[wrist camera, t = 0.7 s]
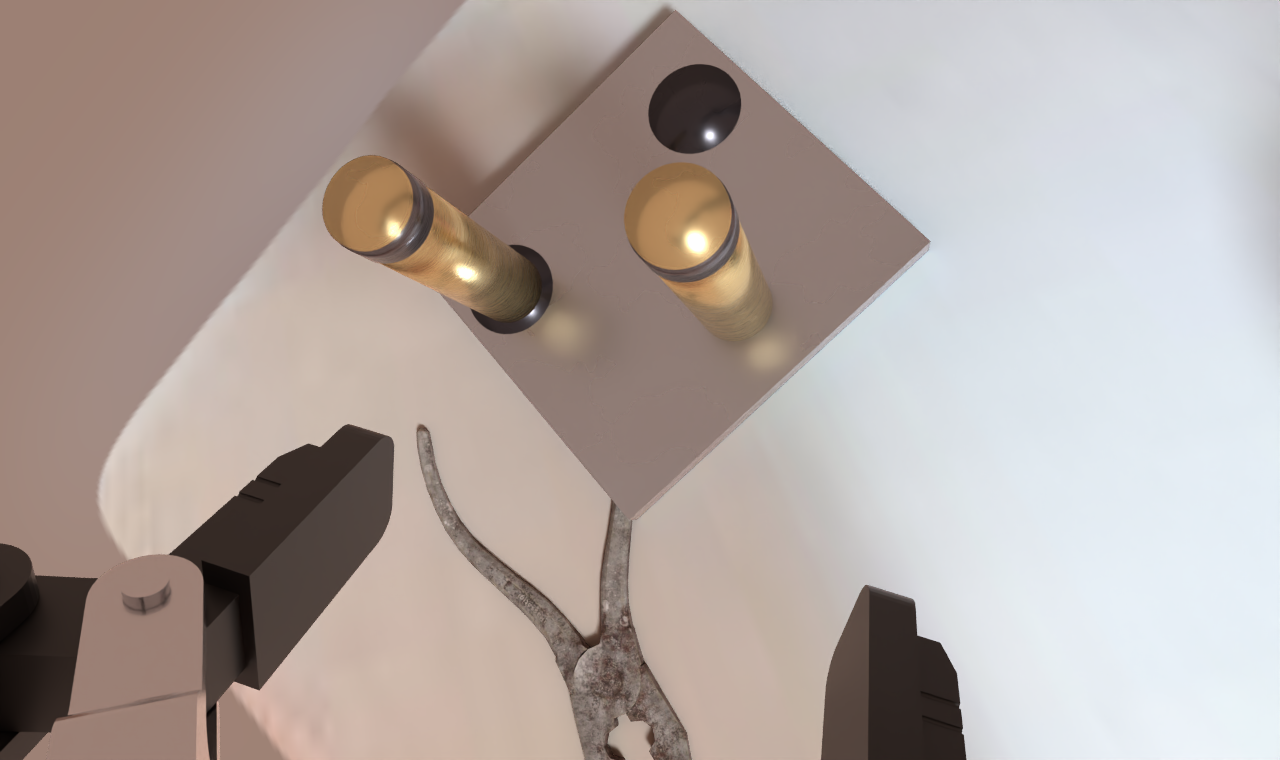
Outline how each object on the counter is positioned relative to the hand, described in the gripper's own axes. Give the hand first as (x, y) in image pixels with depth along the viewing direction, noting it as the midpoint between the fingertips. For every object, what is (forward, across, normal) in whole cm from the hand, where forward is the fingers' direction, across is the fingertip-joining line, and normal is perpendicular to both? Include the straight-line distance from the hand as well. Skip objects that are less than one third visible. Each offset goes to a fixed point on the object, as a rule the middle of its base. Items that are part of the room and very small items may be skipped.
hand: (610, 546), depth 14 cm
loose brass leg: (+21, 0, +4) cm, 21 cm away
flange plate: (+23, +4, +5) cm, 24 cm away
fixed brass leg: (+21, +10, +7) cm, 24 cm away
